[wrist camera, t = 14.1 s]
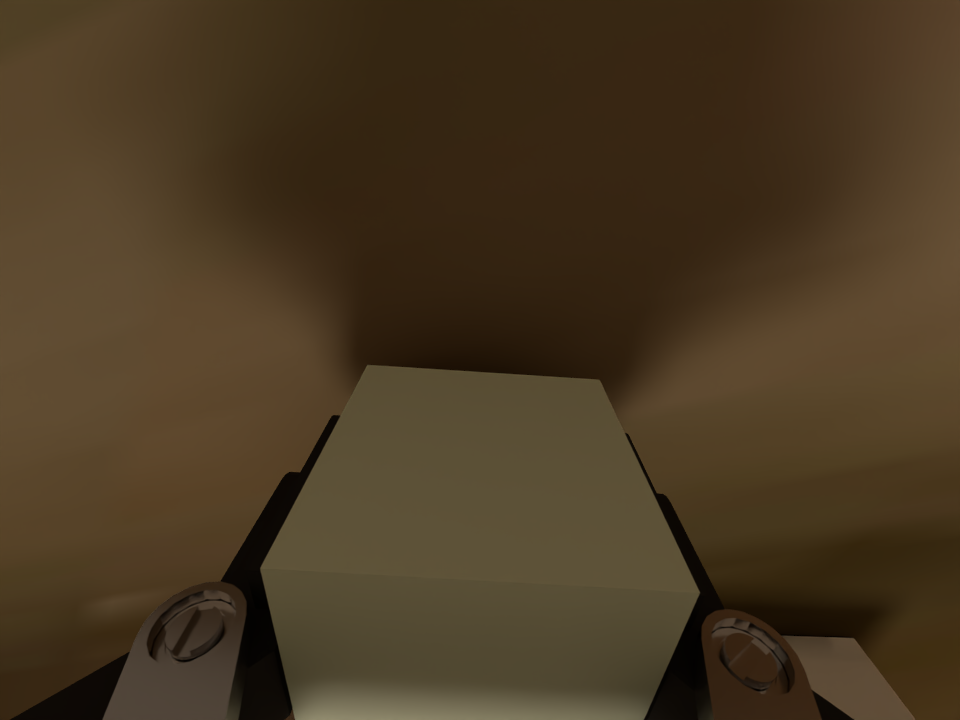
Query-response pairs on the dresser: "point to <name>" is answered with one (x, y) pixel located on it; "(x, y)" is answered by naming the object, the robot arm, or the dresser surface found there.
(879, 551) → the dresser surface
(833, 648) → the tray
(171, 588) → the dresser surface
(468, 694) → the sage block
